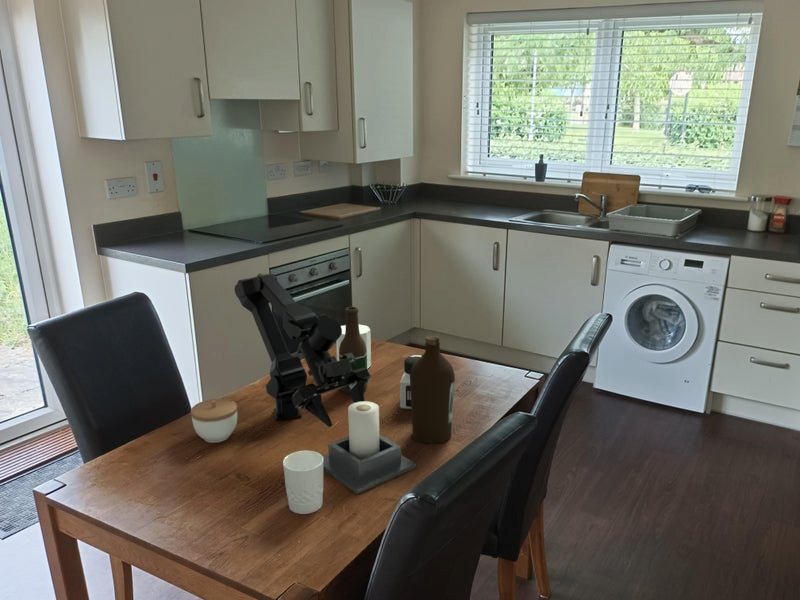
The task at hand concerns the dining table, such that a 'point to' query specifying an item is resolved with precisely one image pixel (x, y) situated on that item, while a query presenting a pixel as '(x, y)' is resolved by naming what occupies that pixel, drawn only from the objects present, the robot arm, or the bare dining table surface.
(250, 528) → the dining table surface
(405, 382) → the container
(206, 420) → the lidded jar
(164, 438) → the dining table surface
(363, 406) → the white paper towel roll
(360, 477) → the square open box
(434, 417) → the olive oil
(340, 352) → the beer bottle
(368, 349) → the toilet paper
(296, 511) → the white cup
